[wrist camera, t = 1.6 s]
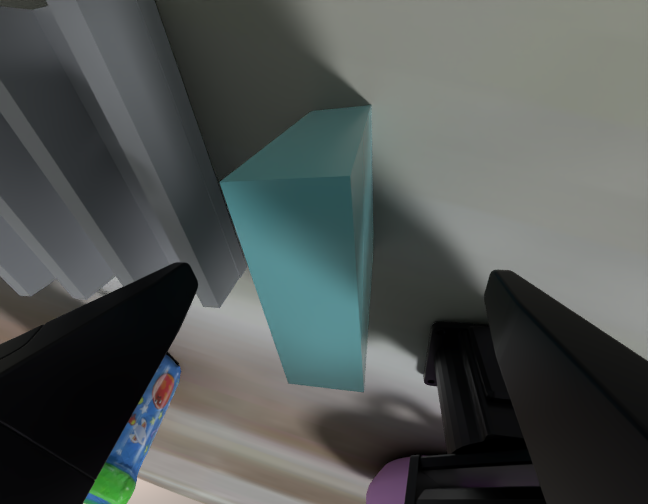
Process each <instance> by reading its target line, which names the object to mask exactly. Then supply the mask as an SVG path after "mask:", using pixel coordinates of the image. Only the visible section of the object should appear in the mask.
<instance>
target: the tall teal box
mask: <svg viewBox="0 0 648 504" xmlns="http://www.w3.org/2000/svg"><path fill="white" fill-rule="evenodd" d="M220 185H221V188H222V191H223V194H224V197H225V200H226V203H227V206H228V209H229V212H230V215H231V217H232V220H233V223H234V226H235V229H236V232H237V235H238V238H239V241H240V244H241V247H242V249H243V252H244V255H245V258H246V261H247V264H248V267H249V270H250V273H251V276H252V279H253V282H254V284H255V287H256V290H257V293H258V296H259V299H260V302H261V305H262V308H263V311H264V314H265V317H266V319H267V322H268V325H269V328H270V331H271V334H272V337H273V340H274V343H275V346H276V349H277V351H278V354H279V357H280V360H281V363H282V366H283V369H284V372H285V375H286V378H287V381H288V383H289V384H298V385H306V386H314V387H323V388H331V389H339V390H348V391H356V392H364V383H365V369H366V354H367V339H368V324H369V309H370V294H371V279H372V265H373V250H374V244H373V182H372V120H371V105H365V106H356V107H346V108H336V109H326V110H316V111H310V112H309V113H308V114H307V115H305V116H304V117H303V118H301V119H300V120H299V121H298V122H296V123H295V124H294V125H292V126H291V127H290V128H289V129H287V130H286V131H285V132H283V133H282V134H281V135H280V136H278V137H277V138H276V139H274V140H273V141H272V142H271V143H269V144H268V145H267V146H265V147H264V148H263V149H262V150H260V151H259V152H258V153H256V154H255V155H254V156H252V157H251V158H250V159H249V160H247V161H246V162H245V163H243V164H242V165H241V166H240V167H238V168H237V169H236V170H234V171H233V172H232V173H231V174H229V175H228V176H227V177H225V178H224V179H223V180H222V181H220Z"/></svg>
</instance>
